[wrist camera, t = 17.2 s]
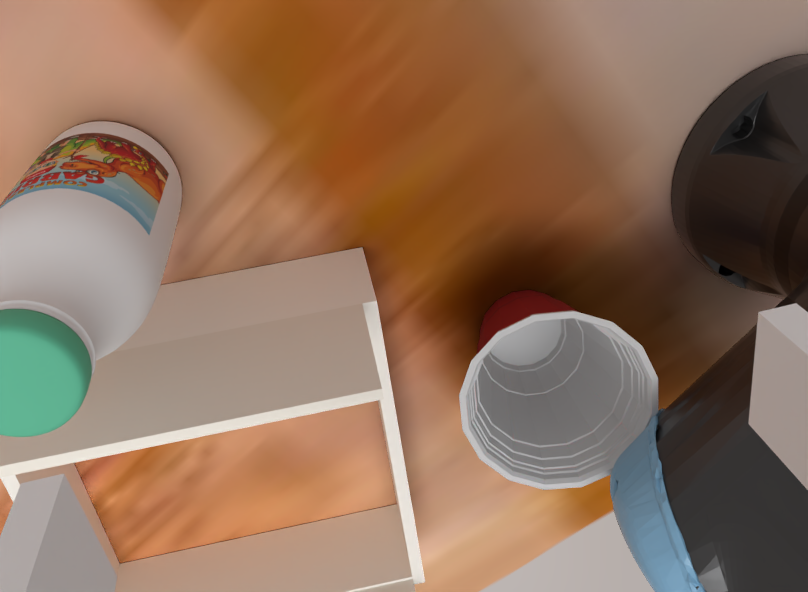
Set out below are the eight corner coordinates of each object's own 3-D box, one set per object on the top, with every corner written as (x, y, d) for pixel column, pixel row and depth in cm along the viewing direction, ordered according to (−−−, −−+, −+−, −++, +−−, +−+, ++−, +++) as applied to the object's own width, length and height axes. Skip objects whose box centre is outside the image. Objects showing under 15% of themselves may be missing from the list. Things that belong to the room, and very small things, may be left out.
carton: (362, 247, 47) (399, 385, 34) (408, 509, 59) (449, 688, 46) (-8, 316, 46) (-116, 489, 33) (112, 573, 57) (67, 778, 44)
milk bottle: (212, 194, 44) (179, 394, 27) (114, 271, 46) (23, 509, 28) (111, 88, 41) (-2, 242, 23) (8, 175, 42) (-171, 382, 25)
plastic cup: (420, 281, 51) (435, 349, 40) (576, 232, 50) (636, 286, 39) (465, 420, 54) (491, 518, 43) (612, 375, 54) (678, 463, 42)
